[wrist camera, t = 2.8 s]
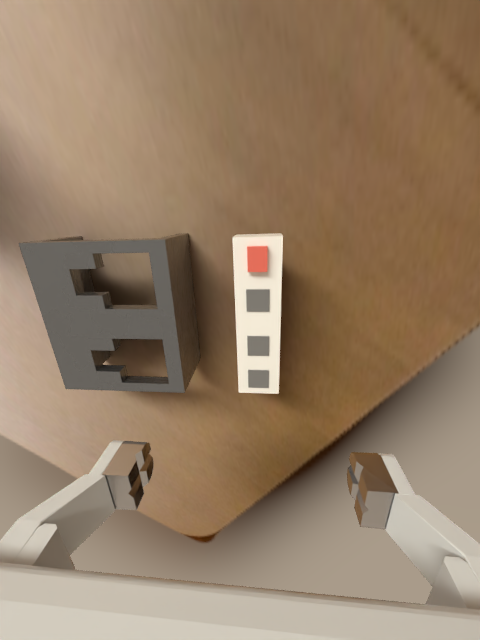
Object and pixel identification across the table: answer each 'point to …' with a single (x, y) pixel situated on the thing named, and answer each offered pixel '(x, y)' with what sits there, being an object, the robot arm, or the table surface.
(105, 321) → the grey stepped cutout plate
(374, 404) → the table surface
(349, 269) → the table surface
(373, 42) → the table surface
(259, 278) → the power strip
